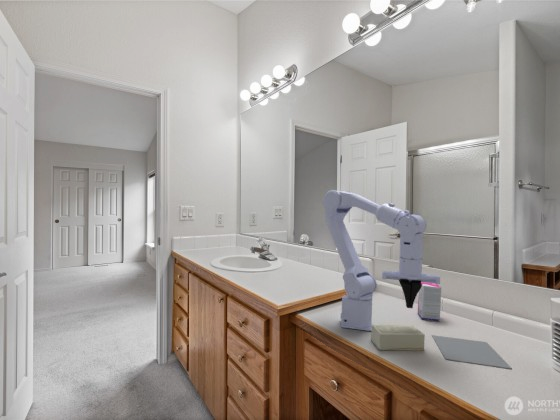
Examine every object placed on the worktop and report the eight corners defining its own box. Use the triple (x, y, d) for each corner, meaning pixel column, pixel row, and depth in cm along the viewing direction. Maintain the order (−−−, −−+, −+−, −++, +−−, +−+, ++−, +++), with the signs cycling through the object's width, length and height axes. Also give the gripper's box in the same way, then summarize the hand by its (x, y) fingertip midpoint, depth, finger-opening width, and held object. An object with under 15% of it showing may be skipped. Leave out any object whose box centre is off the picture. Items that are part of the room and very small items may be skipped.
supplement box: (440, 321, 97) (441, 287, 96) (421, 319, 98) (422, 285, 98) (435, 315, 102) (436, 282, 102) (417, 313, 103) (418, 281, 103)
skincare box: (413, 340, 82) (370, 340, 82) (413, 324, 82) (371, 324, 82) (425, 351, 76) (379, 351, 75) (425, 334, 76) (379, 334, 75)
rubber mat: (445, 359, 72) (445, 358, 72) (431, 335, 85) (431, 335, 85) (512, 369, 68) (512, 368, 68) (486, 342, 82) (486, 342, 82)
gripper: (384, 258, 78) (382, 308, 78) (443, 262, 74) (442, 315, 75) (382, 254, 85) (380, 300, 85) (436, 258, 81) (435, 306, 81)
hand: (409, 307), depth 80 cm, fingers closed
